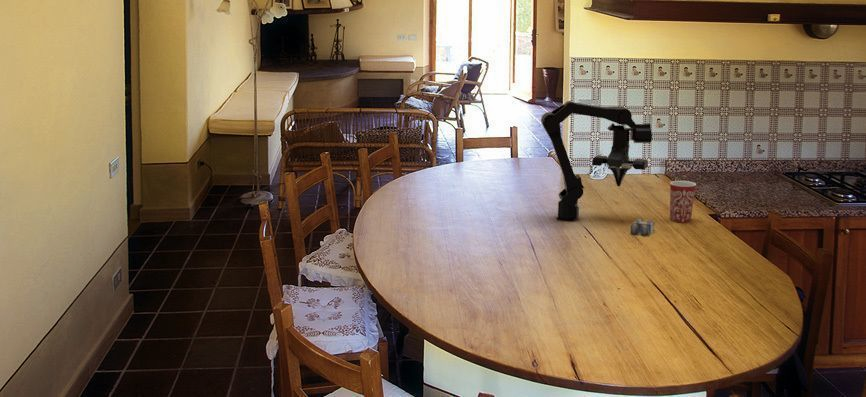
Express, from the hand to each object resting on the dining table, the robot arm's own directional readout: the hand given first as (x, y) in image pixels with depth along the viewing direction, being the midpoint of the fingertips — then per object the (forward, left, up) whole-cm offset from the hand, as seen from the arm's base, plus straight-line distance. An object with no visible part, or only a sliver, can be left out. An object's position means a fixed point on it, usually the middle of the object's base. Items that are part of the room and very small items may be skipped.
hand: (618, 186), depth 313 cm
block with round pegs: (+13, -14, -12) cm, 22 cm away
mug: (+20, +10, -12) cm, 25 cm away
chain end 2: (+14, -14, -12) cm, 23 cm away
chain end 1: (+11, -14, -12) cm, 21 cm away
